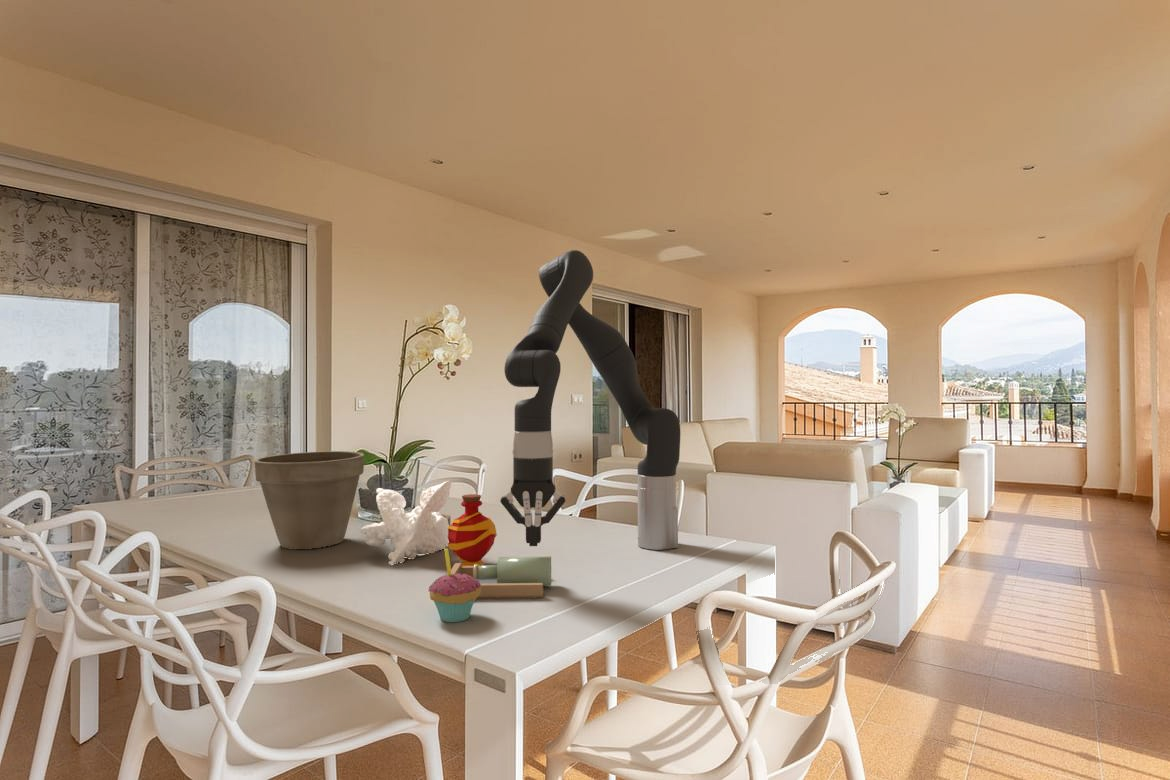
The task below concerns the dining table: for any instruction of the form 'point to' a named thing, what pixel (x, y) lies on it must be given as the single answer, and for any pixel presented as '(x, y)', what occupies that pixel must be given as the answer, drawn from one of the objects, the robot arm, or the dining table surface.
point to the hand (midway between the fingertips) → (533, 545)
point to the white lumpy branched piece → (410, 523)
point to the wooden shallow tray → (501, 586)
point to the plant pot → (310, 495)
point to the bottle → (517, 570)
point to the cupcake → (454, 594)
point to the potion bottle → (471, 533)
